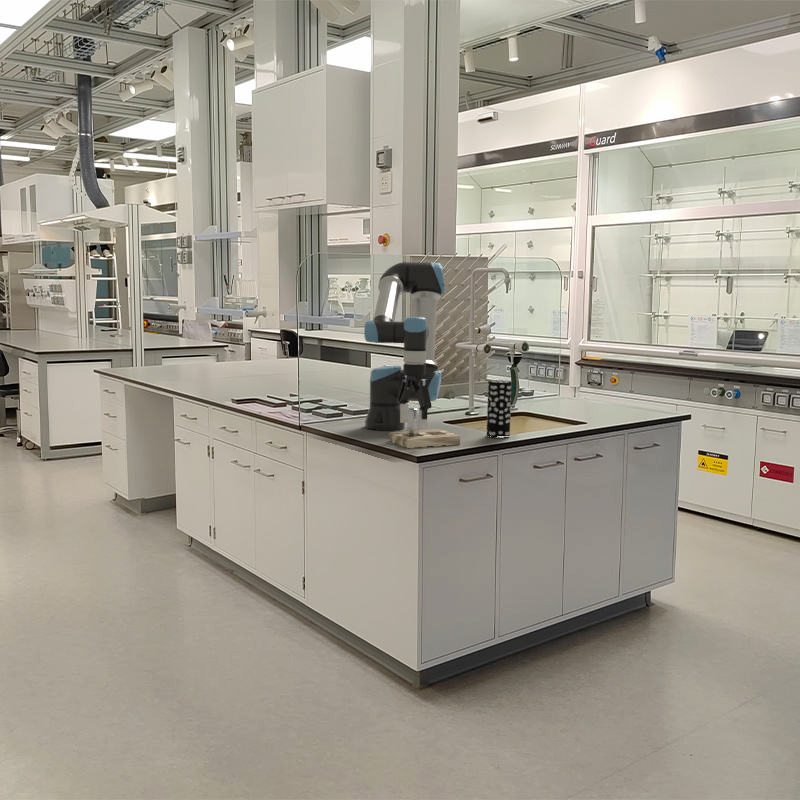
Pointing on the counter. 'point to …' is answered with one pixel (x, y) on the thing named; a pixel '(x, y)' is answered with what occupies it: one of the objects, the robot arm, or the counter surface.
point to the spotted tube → (499, 408)
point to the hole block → (425, 438)
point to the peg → (413, 422)
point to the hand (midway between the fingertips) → (413, 425)
